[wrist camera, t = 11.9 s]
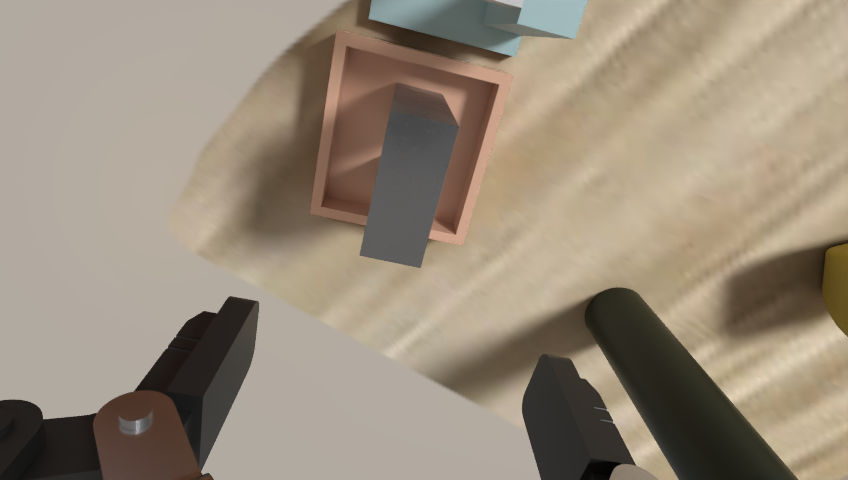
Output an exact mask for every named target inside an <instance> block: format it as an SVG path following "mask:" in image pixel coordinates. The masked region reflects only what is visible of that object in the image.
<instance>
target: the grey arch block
mask: <svg viewBox="0 0 848 480" xmlns="http://www.w3.org/2000/svg"><path fill="white" fill-rule="evenodd" d="M458 130H459V125H458V123H457V121H456V119H455V117H454V115H453V114H452V112H451V110H450V108H449V106H448V104H447V102H446V100H445V98H444V96H443V94H441V93H437V92H433V91H429V90H425V89H421V88H417V87H414V86H410V85H406V84H402V83H398V82H397V83H396V87H395V92H394V96H393V101H392V105H391V110H390V115H389V119H388V124H387V129H386V133H385V138H384V143H383V148H382V152H381V157H380V162H379V166H378V171H377V176H376V180H375V185H374V190H373V195H372V199H371V204H370V209H369V213H368V218H367V223H366V228H365V232H364V237H363V242H362V246H361V251H360V256H365V257H369V258H374V259H379V260H384V261H389V262H394V263H399V264H404V265H408V266H413V267H418V268H421V264H422V260H423V257H424V253H425V249H426V246H427V242H428V238H429V235H430V231H431V228H432V224H433V220H434V217H435V213H436V209H437V206H438V202H439V199H440V195H441V191H442V188H443V184H444V180H445V177H446V173H447V169H448V166H449V162H450V159H451V155H452V151H453V148H454V144H455V140H456V137H457V133H458Z"/></svg>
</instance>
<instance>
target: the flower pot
mask: <svg viewBox="0 0 848 480" xmlns="http://www.w3.org/2000/svg"><path fill="white" fill-rule="evenodd" d="M822 294H823V298H824V301H825V304H826V307H827V309H828V311H829V313H830V315H831V317H832V319H833V320H834V322H835V323H836V325H837V326H838V327H839V328H840V329H841V330H842V332H843V333H844V334H845V335H847V336H848V243H847V244H843V245H839V246H835V247H831V248H829V249H828V250H827V251H826V254H825V264H824V275H823V284H822Z"/></svg>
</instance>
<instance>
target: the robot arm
mask: <svg viewBox="0 0 848 480" xmlns="http://www.w3.org/2000/svg"><path fill="white" fill-rule="evenodd" d="M258 312H259V302H258V301H253V300H248V299H242V298H237V297H232V296H230V297H228V299H227V300H226V301H225V303H224V304H223V306H222V308H221V309H220V311H219V312H218V313H211V312H206V311H203V312H202V313H200V314H198V315H197V316H195V317H193V318H192V319H190V320H188V321H187V322H186V323H185V325H184V326H183V327H182V328H181V330H180V331H179V332H178V334H177V336H176V338H174V339H173V341H172V342H171V343H170V345H169V346H168V349H166V350H165V351H164V352H163V354H162V355H161V356H160V358H159V359H158V360H157V362H156V363H155V364H154V366H153V367H152V368H151V370H150V371H149V372H148V374H147V375H146V376H145V378H144V379H143V380H142V381H141V383H140V384H139V385H138V387H137V388H136V389H135V391H134V392H130V393H126V394H123V395H121V396H118V397H116V398H114V399H112V400H111V401H109V402H108V403H106V404H105V405H104V406H103V407H102V408H101V409H100V410H99V411H98V413H95V414H91V415H84V416H76V417H65V418H54V419H44V420H43V415H42V412H41V410H40V408H39V407H37V406H36V405H35V404H33V403H31V402H28V401H23V400H2V401H0V480H214V479H213V478H212V476H211V475H210V474H209V473H207V474H204V475H202V473H201V470H202V468H203V466H204V464H205V462H206V460H207V458H208V455H209V453H210V451H211V449H212V447H213V445H214V443H215V441H216V438H217V436H218V434H219V432H220V430H221V428H222V426H223V423H224V421H225V419H226V417H227V415H228V413H229V411H230V409H231V407H232V404H233V402H234V400H235V398H236V396H237V394H238V391H239V389H240V387H241V385H242V383H243V381H244V379H245V377H246V374H247V372H248V370H249V367H250V364H251V361H252V358H253V354H254V348H255V340H256V331H257V321H258ZM606 409H607V408H606V406H605V404H604V402H603V400H602V398H601V396H600V394H599V393H598V392H597V391H596V390H595V389H594V388H593V387H592V386H591V385H590V383H589V382H588V381H587V380H586V379H581V378H580V377H579V374H578V372H577V370H576V368H575V366H574V364H573V362H572V361H571V359H569V358H564V357H558V356H553V355H547V354H543V355H542V356H541V357H540V359H539V361H538V363H537V365H536V368H535V370H534V372H533V375H532V377H531V379H530V382H529V384H528V386H527V389H526V391H525V394H524V397H523V403H522V414H523V418H524V422H525V425H526V429H527V432H528V435H529V439H530V442H531V446H532V449H533V453H534V456H535V460H536V463H537V467H538V470H539V473H540V477H541V480H658V479H657V478H656V477H655V476H654V475H652V474H651V473H649V472H648V471H646V470H644V469H642V468H640V467H638V466H636V464H635V462H634V461H633V459H632V457H631V455H630V453H629V451H628V449H627V447H626V445H625V443H624V441H623V439H622V437H621V435H620V433H619V431H618V429H617V428H616V426H615V424H613V420H612V418H611V416H610V414H609V412H608V411H606Z"/></svg>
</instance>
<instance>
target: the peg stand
mask: <svg viewBox="0 0 848 480" xmlns="http://www.w3.org/2000/svg"><path fill="white" fill-rule="evenodd" d="M587 1H588V0H372V1H371V7H370V13H369V19H372V20H376V21H379V22H383V23H387V24H391V25H395V26H399V27H402V28H406V29H410V30H414V31H418V32H421V33H425V34H429V35H433V36H437V37H441V38H444V39H448V40H452V41H456V42H460V43H464V44H467V45H471V46H475V47H479V48H483V49H487V50H490V51H494V52H498V53H502V54H506V55H510V56H513V57H516V54H517V50H518V47H519V43H520V40H521V37H522V36H537V37H551V38H565V39H575V36H576V34H577V31H578V28H579V25H580V22H581V19H582V16H583V13H584V10H585V7H586V4H587Z"/></svg>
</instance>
